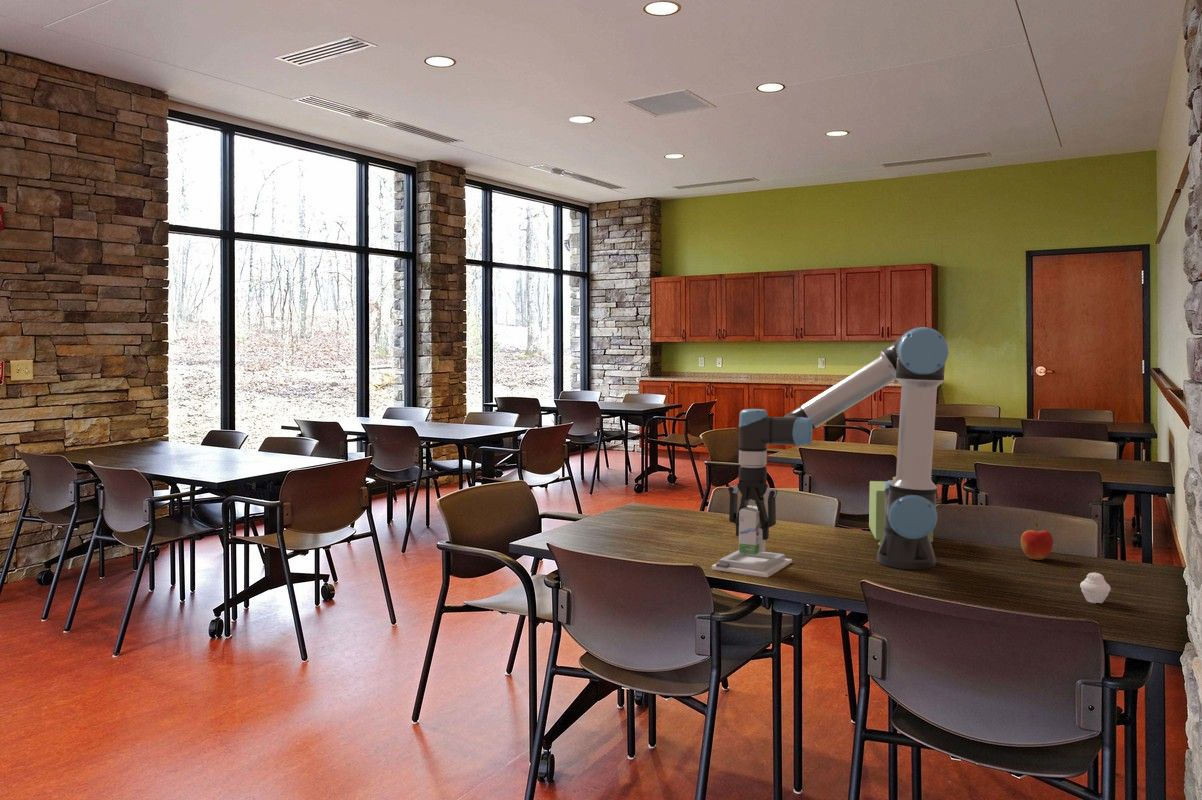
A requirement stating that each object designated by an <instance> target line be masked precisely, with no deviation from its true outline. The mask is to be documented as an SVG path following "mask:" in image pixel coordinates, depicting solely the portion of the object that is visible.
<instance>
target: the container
mask: <svg viewBox="0 0 1202 800" xmlns="http://www.w3.org/2000/svg"><path fill="white" fill-rule="evenodd" d="M895 477H896V476H893V477H892V480H893V479H894V478H895ZM887 481H888V480H887ZM887 481H886V480H885V481H884V480H882V481H881V480H880V481H879V480H877V481H876V480H870V481H869V497H868V499H869V501H868V502H869V503H868V515H869V516H868V520H869V521H868V527H869V529H870V532H871V534H872V535H873V538H874V540H876V541H878V543H877V544H878V545H879V546H880V545H881V542H882V539H883V536H884V524H885V492H884V489H885V484H886V482H887ZM929 539H930V542H931V543H934V529H933V530H932V532H931V533H929Z"/></svg>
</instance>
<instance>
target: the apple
mask: <svg viewBox="0 0 1202 800" xmlns="http://www.w3.org/2000/svg"><path fill="white" fill-rule="evenodd" d="M1035 525H1036V526H1038V523H1035ZM1053 539H1054V538H1053V536H1052V534H1051V532H1050V531H1049V530H1045V529H1043V530H1041V531H1040V530H1039V531H1038V530H1035V529H1027V530H1026V531H1024V532H1023V533H1022V534H1021V537H1020V545H1021V546H1020V547H1021V549H1022V552H1023V553H1024V555H1025V556H1026V557H1027V558H1028V559H1030V560H1033V559H1034V561H1041V560H1044V559H1046V558H1047V557H1048V556H1049V555H1050V553H1051V552H1052V549H1053V546H1054V540H1053Z"/></svg>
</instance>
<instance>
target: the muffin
mask: <svg viewBox="0 0 1202 800" xmlns="http://www.w3.org/2000/svg"><path fill="white" fill-rule="evenodd" d="M1079 587H1080V589H1081V593H1082V595H1083V596H1084V598H1085V600H1086V602H1088V603H1091V604H1096V603H1100V604H1103V603H1104V602H1105V600H1106V598H1107V597H1108V595H1109V594H1110V591H1111V589H1112V588H1111V585H1110V584H1109V583H1107V581H1106V580H1105V576H1104V575H1102V574H1101V573H1099V572H1089V573H1088V574H1087V575H1086V578H1084V580H1083V581H1081V582H1080V585H1079Z"/></svg>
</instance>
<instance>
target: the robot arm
mask: <svg viewBox="0 0 1202 800" xmlns="http://www.w3.org/2000/svg"><path fill="white" fill-rule="evenodd" d="M948 357H949V345H948V342H947V340H946V338H945V337H944V336H943V334H941V332H939V331H938V330H936V329H935V328H931V327H927V326H926V327H925V326H920V327H919V326H918V327H914V328H912V329H909V330H907V331H906V332H904V333H902V335H900V336H899V338H897V339H896V340H894V341H893V343H891V344H890V345H888V346H887V347H885V348H884V349H883V350H881V351H880V354H879V356H878V357H877V358H876V359H873V360H871V361H870V362H869V363H867V364H866V365H864V366H862V367H860V368H859V369H858V370H856V371H854V372H853V373H851V374H850V375H848V376H846V377H844V378H843V379H842V380H840V381H838V382H837V383H835V384H834V385H832V386H831V387H829V388H828V389H826V390H824V391H822V392H821V393H819V394H818V395H816V396H815V397H813V398H811V399H810V400H808V401H807V402H805V403H803V404H802V405H800V406H799V407H796V409H794V410H792V411H790V412H787V413H786V414H785V415H784V416H783V415H782V416H769V414H768V411H767V410H766V409H762V408H746V409H742V410H740V412H739V418H738V419H739V421H738V465H739V466H738V482H737V484H736V485H731V486H729V487H728V493H729V519H728V521H729V522H730V523H733V524H735V536H736V537H738V538H739V511H740V510H741V509H742V508H745V507H747V506H749V504H748V503H749V501H750V500H752V501H754V502H755V505H756V506H757V508H758V511H759V516H760V520H761V525H762V527H761V528H759V552H766V545H767V544H766V543H767V542H766V541H767V540H769V538H770V537H769V535H770V532H769V531H770V528H771V527H774V526H776V523H777V515H776V513H777V512H776V497H777V495H778V490H777V489H773V488H770V487H769V486H768V483H767V481H768V480H767V475H768V474H767V473H768V469H767V467H766V465H767V464H768V463H767V462H768V461H767V460H768V458H767V456H768V455H767V453H768V449H767V448H768V445H772V446H773V445H782V446H797V447H800V446H810V445H811V444H812V443H813V442H812V441H813V431H815V429H817V428H818V427H821V426H822V425H823V424H825V423H826V422H829V421H830V420H831V419H833V418H835V417H837V416H839V414H842V413H843V412H845V411H846V410H848V409H850V408H851V407H853V406H854V405H856V404H858V403H859V402H861V401H863V400H864V399H866V398H868V397H869V396H871V395H873V394H875V393H876V392H878V391H879V390H881V389H883V388H884V387H886V386H888V385H889V384H891V383H893V382H894V381H897V382H898V383H899V384H900V386H901V392H900V407H899V408H900V409H899V423H898V424H899V425H898V439H897V456H896V471H895V473H896V474H895V476H894V477H895V478H894V479H893V478H892V480H891V479H890V480H889V479H888V480H887V482H886V484H885V489H884V492H885V524H884V536H883V539H882V542H881V545H879V548H878V551H877V556H876V557H877V559H876V560H877V562H878V563H879V564H881V565H883V566H886V567H890V568H893V569H894V568H896V569H902V570H903V569H904V570H924V569H925V570H927V569H932V568H934V567H935V566H936V555H935V552H934V549H933V545H932V542H930V539H929V533H931V532H932V530H933V531H934V529H935V528H936V526H937V522H938V510H937V508H936V507H937V490H938V487H937V485H936V484H935V483H934V482H933V481H932V470H933V457H934V456H933V454H934V442H935V441H934V438H935V426H936V425H935V424H936V409H937V408H936V407H937V392H938V387H939V386H941V384H942V383H943V382H944V381H945V370H946V369H945V368H946V363H947V360H948ZM739 492H740V494H741V497H740V504H739V507H738V493H739ZM764 495H766V496H767V510H766V505H765V497H764Z"/></svg>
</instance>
